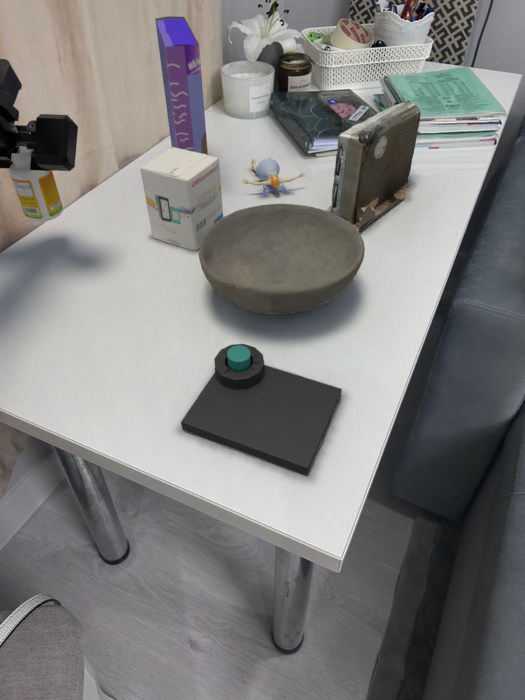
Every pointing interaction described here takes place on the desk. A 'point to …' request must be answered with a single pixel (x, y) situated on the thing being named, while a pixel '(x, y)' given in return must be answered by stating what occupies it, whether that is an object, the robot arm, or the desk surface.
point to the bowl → (281, 257)
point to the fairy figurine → (269, 175)
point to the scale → (264, 412)
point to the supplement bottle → (35, 189)
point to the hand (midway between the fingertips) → (35, 166)
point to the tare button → (239, 358)
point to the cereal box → (182, 83)
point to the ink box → (182, 196)
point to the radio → (374, 164)
